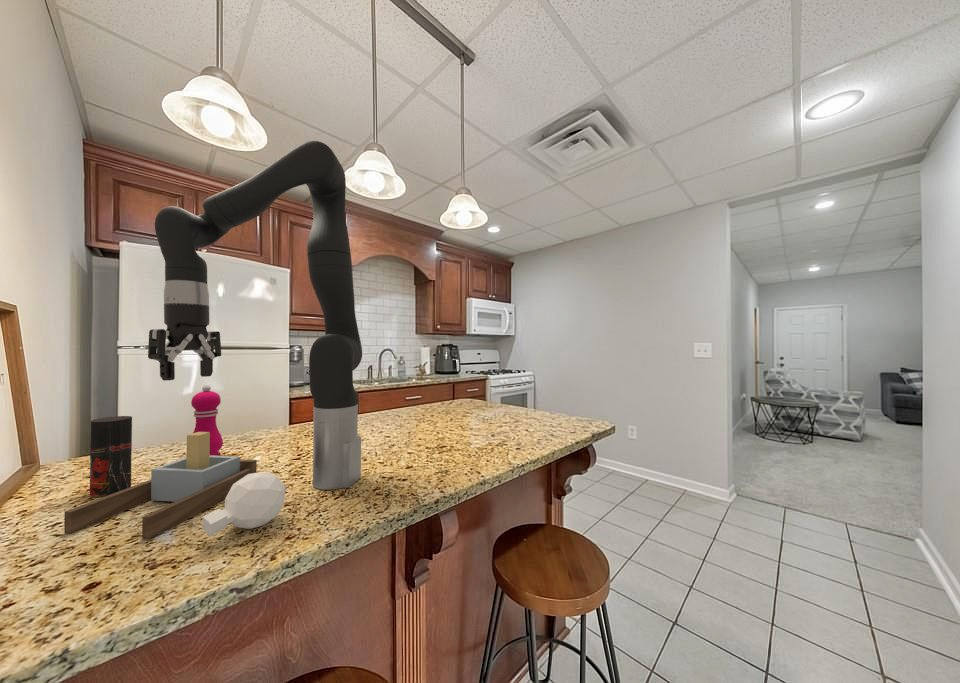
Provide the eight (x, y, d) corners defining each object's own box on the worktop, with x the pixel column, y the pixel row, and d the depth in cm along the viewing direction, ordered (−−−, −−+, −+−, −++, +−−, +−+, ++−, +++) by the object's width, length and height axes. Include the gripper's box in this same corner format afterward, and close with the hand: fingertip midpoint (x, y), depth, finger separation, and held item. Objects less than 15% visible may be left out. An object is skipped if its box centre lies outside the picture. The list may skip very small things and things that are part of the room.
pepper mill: (229, 458, 93) (230, 383, 93) (205, 467, 86) (206, 387, 86) (205, 457, 93) (206, 383, 94) (179, 466, 86) (180, 386, 86)
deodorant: (137, 487, 74) (138, 417, 74) (99, 498, 68) (100, 423, 68) (121, 483, 76) (122, 415, 76) (82, 494, 70) (83, 420, 70)
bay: (256, 482, 77) (256, 459, 77) (148, 539, 54) (149, 507, 54) (193, 479, 78) (194, 457, 78) (64, 533, 56) (64, 502, 56)
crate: (239, 484, 75) (240, 429, 75) (202, 503, 66) (203, 440, 66) (193, 481, 76) (194, 427, 76) (151, 500, 67) (151, 438, 67)
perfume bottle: (264, 495, 66) (190, 534, 55) (268, 454, 64) (192, 486, 53) (294, 519, 63) (221, 564, 52) (299, 476, 60) (224, 514, 50)
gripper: (169, 299, 67) (170, 381, 67) (230, 306, 81) (231, 375, 81) (135, 300, 68) (136, 382, 68) (202, 307, 82) (203, 375, 82)
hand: (188, 378), depth 75 cm, fingers open, 8 cm apart
